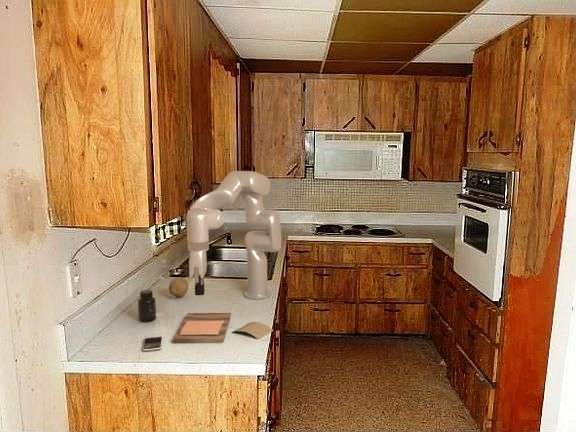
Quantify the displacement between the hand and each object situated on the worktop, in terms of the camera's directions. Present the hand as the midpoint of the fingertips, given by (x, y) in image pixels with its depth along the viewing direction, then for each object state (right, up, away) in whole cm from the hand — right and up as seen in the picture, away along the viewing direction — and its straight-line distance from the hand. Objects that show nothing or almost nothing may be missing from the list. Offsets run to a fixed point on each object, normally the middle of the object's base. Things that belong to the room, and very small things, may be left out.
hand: (199, 294), depth 158 cm
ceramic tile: (0, -13, +6) cm, 14 cm away
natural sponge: (-19, -10, +45) cm, 50 cm away
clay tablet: (+19, -17, +8) cm, 26 cm away
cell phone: (-16, -18, -4) cm, 24 cm away
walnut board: (0, -15, +10) cm, 18 cm away
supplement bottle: (-26, -14, +19) cm, 35 cm away
